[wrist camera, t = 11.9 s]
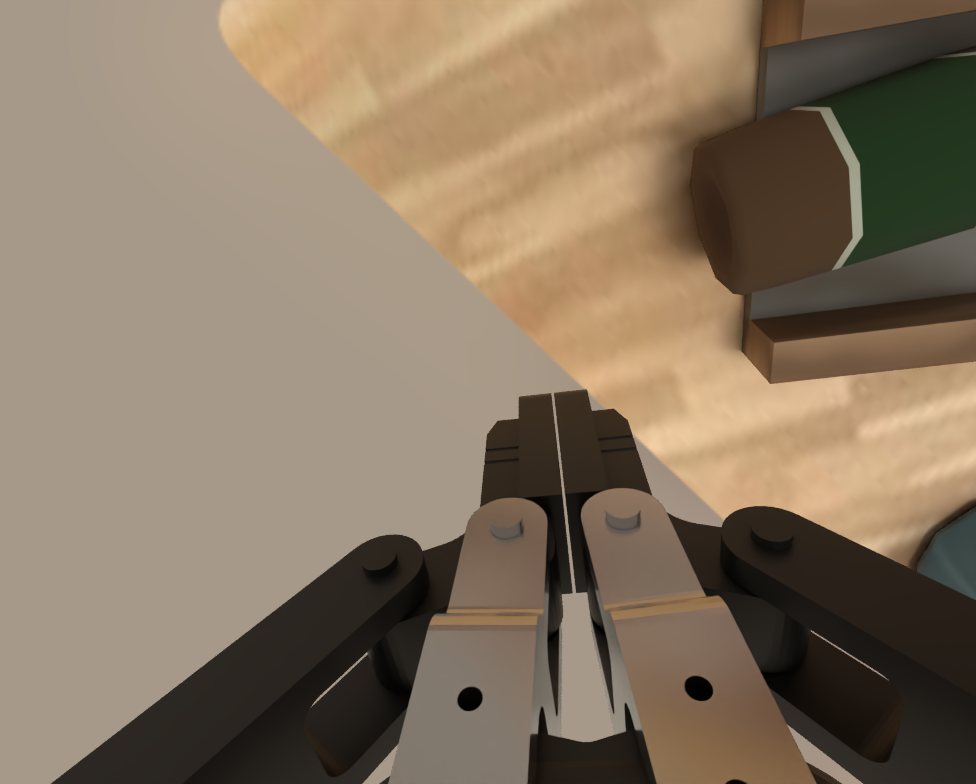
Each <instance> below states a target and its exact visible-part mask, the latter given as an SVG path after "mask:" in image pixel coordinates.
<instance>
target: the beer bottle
mask: <svg viewBox="0 0 976 784" xmlns="http://www.w3.org/2000/svg"><path fill="white" fill-rule="evenodd" d="M690 188H691V193H692V199H693V204H694V210H695V216H696V221H697V227H698V233H699V236H700V239H701V241H702V244H703V247H704V249H705V252H706V254H707V257H708V259H709V262H710V265H711V267H712V270H713V272H714V275H715V277H716V278H717V279H718V280H719V281H720V282H721V283H722V284H723V285H724V286H725V287H727V288H728V289H729V290H730V291H731V292H732V293H733V294H740V295H744V294H748V293H753V292H757V291H761V290H765V289H769V288H773V287H778V286H782V285H785V284H788V283H792V282H795V281H798V280H802V279H805V278H808V277H812V276H815V275H818V274H822V273H825V272H828V271H832V270H835V269H839V268H842V267H845V266H849V265H852V264H855V263H859V262H862V261H865V260H869V259H872V258H875V257H879V256H882V255H886V254H889V253H892V252H896V251H899V250H902V249H906V248H909V247H912V246H916V245H919V244H922V243H926V242H929V241H932V240H936V239H939V238H943V237H946V236H949V235H953V234H956V233H959V232H963V231H966V230H969V229H973V228H976V46H973V47H970V48H966V49H963V50H959V51H955V52H952V53H948V54H945V55H941V56H939V57H936V58H933V59H930V60H927V61H925V62H922V63H919V64H916V65H913V66H911V67H908V68H905V69H902V70H899V71H896V72H894V73H891V74H888V75H885V76H882V77H880V78H877V79H874V80H871V81H868V82H866V83H863V84H860V85H857V86H854V87H851V88H849V89H846V90H843V91H840V92H837V93H835V94H832V95H829V96H826V97H823V98H821V99H818V100H815V101H812V102H809V103H806V104H804V105H801V106H798V107H795V108H792V109H790V110H787V111H784V112H781V113H778V114H776V115H773V116H770V117H767V118H764V119H761V120H759V121H756V122H753V123H750V124H747V125H745V126H742V127H739V128H736V129H734V130H732V131H729V132H727V133H725V134H722V135H720V136H717V137H715V138H713V139H710V140H708V141H705V142H703V143H701V144H700V145H699V146H698V147H697V148H696V149H695V150H694V154H693V162H692V171H691V180H690Z"/></svg>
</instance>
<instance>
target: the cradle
mask: <svg viewBox="0 0 976 784" xmlns="http://www.w3.org/2000/svg"><path fill="white" fill-rule="evenodd" d="M973 46H976V0H763V13H762V29H761V46H760V62H759V78H758V95H757V111H756V121H759V120H761V119H764V118H767V117H770V116H773V115H776V114H778V113H781V112H784V111H787V110H790V109H792V108H795V107H798V106H801V105H804V104H806V103H809V102H812V101H815V100H818V99H821V98H823V97H826V96H829V95H832V94H835V93H837V92H840V91H843V90H846V89H849V88H851V87H854V86H857V85H860V84H863V83H866V82H868V81H871V80H874V79H877V78H880V77H882V76H885V75H888V74H891V73H894V72H896V71H899V70H902V69H905V68H908V67H911V66H913V65H916V64H919V63H922V62H925V61H927V60H930V59H933V58H936V57H939V56H941V55H945V54H948V53H952V52H955V51H959V50H963V49H966V48H970V47H973ZM742 352H743V353H744V355H745V356H746V357H747V358H748V359H749V360H750V361H751V362H752V364H753V365H754V366H755V367H756V368H757V369H758V370H759V372H760V373H761V374H762V375H763V376H764V377H765V378H766V379H767V381H768V382H769V383H770V384H774V383H783V382H792V381H801V380H810V379H820V378H829V377H838V376H847V375H856V374H865V373H874V372H883V371H892V370H901V369H910V368H920V367H929V366H938V365H947V364H956V363H965V362H974V361H976V228H973V229H969V230H966V231H963V232H959V233H956V234H953V235H949V236H946V237H943V238H939V239H936V240H932V241H929V242H926V243H922V244H919V245H916V246H912V247H909V248H906V249H902V250H899V251H896V252H892V253H889V254H886V255H882V256H879V257H875V258H872V259H869V260H865V261H862V262H859V263H855V264H852V265H849V266H845V267H842V268H839V269H835V270H832V271H828V272H825V273H822V274H818V275H815V276H812V277H808V278H805V279H802V280H798V281H795V282H792V283H788V284H785V285H782V286H778V287H773V288H769V289H765V290H761V291H757V292H753V293H748V294H745V307H744V323H743V340H742Z"/></svg>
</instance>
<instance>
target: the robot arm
mask: <svg viewBox="0 0 976 784" xmlns="http://www.w3.org/2000/svg"><path fill="white" fill-rule="evenodd" d="M554 397H555V406H556V415H557V424H558V433H559V443H560V452H561V461H562V470H563V479H564V488H565V496H566V506H567V515H568V524H569V533H570V542H571V550H572V559H573V569H574V578H575V586H576V593H582V592H587V594H588V602H589V609H590V619H591V629H592V635H593V640H594V644H595V649H596V653H597V658H598V662H599V667H600V671H601V676H602V680H603V684H604V689H605V693H606V698H607V702H608V707H609V712H610V716H611V720H612V725H613V730H614V735H613V736H610V737H606V738H603V739H600V740H597V741H593V742H578V741H574V740H570V739H566V738H561V690H562V686H561V685H562V684H561V683H562V628H561V622H562V618H563V605H562V594H570V593H572V583H571V574H570V564H569V554H568V545H567V537H566V536H567V535H566V525H565V517H564V507H563V497H562V487H561V478H560V469H559V460H558V451H557V441H556V432H555V424H554V416H553V405H552V396H551V393H549V394H540V395H531V396H521V397H519V419H511V420H501V421H497V422H496V424H495V425H494V426H493V428H492V429H491V430H490V431H489V433H488V434H487V441H486V453H485V465H484V472H483V483H482V494H481V504H480V508H479V509H478V510H477V511H475V512H474V514H473V515H472V516H471V518H470V519H469V521H468V524H467V527H466V531H465V533H464V534H463V535H462V536H460V537H459V538H457V539H455V540H453V541H451V542H448V543H446V544H443V545H440V546H437V547H434V548H431V549H428V550H425V551H422V549H421V547H420V546H419V544H418V543H417V542H416V541H415V540H413V539H412V538H409V537H407V536H403V535H385V536H380V537H377V538H374V539H371V540H369V541H367V542H365V543H363V544H361V545H360V546H358V547H357V548H355V549H354V550H353V551H351V552H350V553H349V554H348V555H346V556H345V557H344V558H342V559H341V560H340V561H339V562H337V563H336V564H335V565H333V566H332V567H331V568H329V569H328V570H327V571H326V572H324V573H323V574H322V575H320V576H319V577H318V578H317V579H315V580H314V581H313V582H311V583H310V584H309V585H307V586H306V587H305V588H304V589H302V590H301V591H300V592H298V593H297V594H296V595H295V596H293V597H292V598H291V599H289V600H288V601H287V602H286V603H284V604H283V605H282V606H280V607H279V608H278V609H277V610H275V611H274V612H272V613H271V614H270V615H269V616H267V617H266V618H265V619H263V620H262V621H261V622H260V623H258V624H257V625H256V626H255V627H253V628H252V629H251V630H249V631H248V632H247V633H245V634H244V635H243V636H241V637H240V638H239V639H238V640H236V641H235V642H234V643H232V644H231V645H230V646H228V647H227V648H226V649H225V650H223V651H222V652H221V653H219V654H218V655H217V656H216V657H214V658H213V659H212V660H210V661H209V662H208V663H207V664H205V665H204V666H203V667H201V668H200V669H199V670H197V671H196V672H195V673H194V674H192V675H191V676H190V677H188V678H187V679H186V680H185V681H183V682H182V683H181V684H179V685H178V686H177V687H175V688H174V689H173V690H172V691H170V692H169V693H168V694H166V695H165V696H164V697H162V698H161V699H160V700H159V701H157V702H156V703H155V704H153V705H152V706H151V707H150V708H148V709H147V710H146V711H144V712H143V713H142V714H140V715H139V716H138V717H137V718H135V719H134V720H133V721H131V722H130V723H129V724H128V725H126V726H125V727H124V728H122V729H121V730H120V731H119V732H117V733H116V734H115V735H113V736H112V737H111V738H109V739H108V740H107V741H106V742H104V743H103V744H102V745H100V746H99V747H98V748H96V749H95V750H94V751H93V752H91V753H90V754H89V755H87V756H86V757H85V758H84V759H82V760H81V761H80V762H78V763H77V764H76V765H74V766H73V767H72V768H71V769H69V770H68V771H67V772H66V773H64V774H63V775H61V776H60V777H59V778H58V779H56V780H55V781H54V782H53V783H52V784H362V783H363V782H364V781H365V780H366V779H367V778H368V777H369V776H370V774H371V773H372V772H373V771H374V770H375V769H376V768H377V767H378V765H379V764H380V763H381V762H382V761H383V760H384V759H385V758H386V757H387V756H388V754H389V753H390V752H391V751H392V750H393V749H394V748H395V747H396V746H397V744H398V743H399V744H398V748H397V751H396V755H395V759H394V763H393V767H392V771H391V775H390V776H389V777H388V778H386V779H385V780H384V781H383V782H381V783H380V784H841V783H840V782H839V781H837V780H836V779H834V778H833V777H831V776H830V775H828V774H827V773H825V772H823V771H821V770H819V769H818V768H816V767H814V766H812V765H811V764H809V763H807V762H805V760H804V758H803V756H802V754H801V752H800V750H799V748H798V746H797V744H796V742H795V740H794V738H793V736H792V734H791V732H790V730H789V728H788V726H787V725H789V726H790V727H791V728H793V729H794V730H795V731H796V732H798V733H799V734H800V735H802V736H803V737H804V738H805V739H807V740H808V741H809V742H811V743H812V744H813V745H815V746H816V747H817V748H818V749H820V750H821V751H822V752H823V753H825V754H826V755H827V756H829V757H830V758H831V759H832V760H834V761H835V762H836V763H838V764H839V765H840V766H841V767H843V768H844V769H845V770H847V771H848V772H849V773H851V774H852V775H853V776H854V777H856V778H857V779H858V780H859V781H861V782H862V783H863V784H976V600H975V599H972V598H970V597H968V596H966V595H964V594H962V593H960V592H958V591H956V590H954V589H952V588H949V587H947V586H945V585H943V584H941V583H939V582H937V581H935V580H933V579H931V578H929V577H927V576H924V575H922V574H920V573H918V572H916V571H914V570H912V569H910V568H908V567H906V566H904V565H901V564H899V563H897V562H895V561H893V560H891V559H889V558H887V557H885V556H883V555H881V554H878V553H876V552H874V551H872V550H870V549H868V548H866V547H864V546H862V545H860V544H858V543H856V542H853V541H851V540H849V539H847V538H845V537H843V536H841V535H839V534H837V533H835V532H833V531H830V530H828V529H826V528H824V527H822V526H820V525H818V524H816V523H814V522H812V521H810V520H808V519H805V518H803V517H801V516H799V515H797V514H795V513H792V512H790V511H787V510H783V509H780V508H775V507H767V506H754V507H747V508H743V509H740V510H737V511H735V512H733V513H732V514H730V515H729V516H728V517H727V518H726V519H725V521H724V522H723V525H722V527H716V526H709V525H702V524H696V523H691V522H687V521H684V520H681V519H679V518H676V517H674V516H672V515H670V514H669V513H667V512H666V510H665V508H664V507H663V505H662V504H661V503H660V502H659V501H658V500H657V499H656V498H655V497H653V496H652V494H651V490H650V487H649V484H648V481H647V478H646V475H645V472H644V469H643V466H642V463H641V460H640V457H639V454H638V451H637V449H636V445H635V441H634V438H633V436H632V432H631V429H630V426H629V423H628V420H627V419H625V418H624V417H623V416H622V415H621V414H619V413H618V412H617V411H616V410H615V409H607V410H597V411H592V410H591V406H590V401H589V397H588V392H587V389H585V390H576V391H567V392H558V393H554ZM811 630H812V631H814V632H815V633H817V634H819V635H820V636H822V637H823V638H825V639H827V640H828V641H830V642H831V643H833V644H835V645H836V646H838V647H839V648H841V649H843V650H844V651H846V652H847V653H849V654H850V655H852V656H854V657H855V658H857V659H858V660H860V661H862V662H863V663H865V664H867V665H868V666H870V667H871V668H873V669H874V670H876V671H878V672H879V673H880V674H882V675H883V676H885V677H886V678H887V679H888V680H889V681H888V680H887V679H885V678H884V677H882V676H880V675H879V674H877V673H876V672H874V671H872V670H871V669H869V668H867V667H866V666H864V665H863V664H861V663H860V662H858V661H856V660H855V659H853V658H852V657H850V656H849V655H847V654H845V653H844V652H842V651H841V650H839V649H837V648H836V647H834V646H833V645H831V644H829V643H828V642H826V641H825V640H823V639H821V638H820V637H818V636H817V635H815V634H813V633H812V632H811ZM366 652H367V653H368V655H367V656H366V657H364V658H363V659H362V660H361V661H360V662H359V663H358V664H357V665H356V666H355V667H354V668H353V669H352V670H351V671H350V672H348V674H346V675H345V676H344V677H343V678H342V679H341V680H340V681H339V682H338V683H337V684H336V685H335V686H334V687H333V688H331V689H330V690H329V691H328V692H327V693H326V694H325V695H324V696H323V697H322V698H321V699H320V700H319V701H317V703H315V704H314V705H313V706H312V704H313V703H314V702H315V701H316V699H317V698H318V697H319V696H320V695H321V694H322V693H323V692H324V691H325V690H327V689H328V688H329V687H330V686H331V685H332V684H333V683H334V682H335V681H336V680H337V679H338V678H339V677H340V676H342V675H343V674H344V673H345V672H346V671H347V670H348V669H349V668H350V667H351V666H352V665H353V664H354V663H356V661H358V660H359V659H360V658H361V657H362V656H363V655H364V654H365V653H366ZM311 706H312V707H311ZM310 707H311V708H310Z"/></svg>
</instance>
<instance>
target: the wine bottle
mask: <svg viewBox="0 0 976 784" xmlns="http://www.w3.org/2000/svg"><path fill="white" fill-rule="evenodd" d="M916 567H917V572H918V573H920V574H922V575H924V576H927V577H929V578H931V579H933V580H935V581H937V582H939V583H941V584H943V585H945V586H947V587H949V588H952V589H954V590H956V591H958V592H960V593H962V594H964V595H966V596H968V597H970V598H972V599H975V600H976V506H975V507H974V508H972V509H971V510H969V511H968V512H966V513H965V514H963V515H962V516H960V517H959V518H958V519H956V520H955V521H953V522H952V523H950V524H949V525H947V526H946V527H944V528H943V529H941V530H940V531H938V532H937V533H936V534H935V536H934V537H933V539H932V541H931V542H930V544H929V545H928V547H927V549H926V550H925V552H924V554H923V555H922V557H921V559H920V560H919V562H918V564H917V565H916Z"/></svg>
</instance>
